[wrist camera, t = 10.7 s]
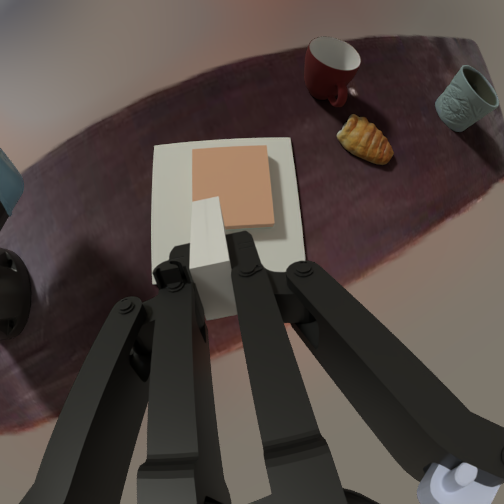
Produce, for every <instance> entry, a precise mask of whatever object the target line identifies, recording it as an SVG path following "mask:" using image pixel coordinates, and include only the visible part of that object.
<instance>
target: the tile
mask: <svg viewBox="0 0 504 504" xmlns="http://www.w3.org/2000/svg"><path fill="white" fill-rule="evenodd" d="M217 196H219V201H220V206H221V211H222V215H223V220H224V225H225V230H226V231H229V230H246V229H263V228H272V227H273V225H274V224H275V222H274V212H273V201H272V191H271V181H270V172H269V162H268V153H267V145H257V146H232V147H215V148H201V149H192V202H194V201H198V200H203V199H208V198H212V197H217Z"/></svg>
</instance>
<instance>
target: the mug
mask: <svg viewBox="0 0 504 504" xmlns="http://www.w3.org/2000/svg"><path fill="white" fill-rule="evenodd" d="M360 64H361V58H360V55H359V54H358V52H357V51H356V50H355V49H354V48H353V47H352V46H351V45H349V44H348V43H346V42H344V41H342V40H340V39H337V38H333V37H317V38H314V39H313V40H311V42H310V43H309V46H308V49H307V52H306V56H305V71H304V80H305V84H306V87H307V89H308V91H309V93H310V94H311V95H312V96H313V97H314V98H316V99H320V100H326V99H329V102H330V103H331V105H333V106H334V107H342V106H343V105H344V104H345V103H346V100H347V95H348V92H347V84H348V83H349V82H350V81H351V80H352V79H353V77H354V76H355V75H356V73H357V71H358V69H359V67H360ZM336 95H338V99H337V100H336V98H335V97H334V96H336Z"/></svg>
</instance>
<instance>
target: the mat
mask: <svg viewBox="0 0 504 504" xmlns="http://www.w3.org/2000/svg"><path fill="white" fill-rule="evenodd" d="M257 145H267V153H268V162H269V172H270V181H271V191H272V201H273V212H274V222H275V224H274V225H273V227H272V228H263V229H246V230H229V231H226V234H231V233H236V232H241V231H247V232H249V233H250V234H251V235H252V237H253V240H254V243H255V246H256V249H257V252H258V255H259V258H260V261H261V264H263V266H264V267H265V268H266V269H268V270H270V271H274V272H286V269H287V268H288V266H289V265H291V264H292V263H294V262H298V261H305V251H304V242H303V232H302V223H301V214H300V206H299V198H298V190H297V182H296V175H295V167H294V160H293V153H292V147H291V140H290V138H243V139H223V140H208V141H195V142H184V143H174V144H165V145H157V146H154V161H153V180H152V215H151V248H152V272H153V270H154V268H155V267H156V266H157V265H159V264H160V263H162V262H164V261H167V260H169V255H170V252H171V250H172V249H173V248H174V246H178V245H183V244H187V243H190V238H191V217H192V149H201V148H215V147H232V146H257ZM152 283H153V284H157V283H156V281H155V279H154V276H153V274H152Z"/></svg>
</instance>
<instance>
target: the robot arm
mask: <svg viewBox="0 0 504 504" xmlns="http://www.w3.org/2000/svg"><path fill="white" fill-rule="evenodd" d="M23 190H24V181H23V178H22V176H21V174H20V173H19V171H18V170H17V169H16V167H15V166H14V165H13V163H12V162H11V161H10V159H9V158H8V157H7V156H6V154H5V153H4V152H3V151H2V149H1V148H0V231H1V229H2V227H3V226H4V224H5V222H6V221H7V219H8V217H10V216H11V215H12V210H13V209H14V207H15V205H16V203H17V202H18V200H19V199H20V197H21V195H22V193H23ZM152 274H153V276H154V279H155V281H156V283H157V286H158V288H159V294H158V295H157V296H156V297H154V298H152V299H150V300H147V301H145V302H143V303H142V301H141V299H139V298H138V297H134V296H131V297H126V298H124V299H121V300H120V301H119V302H117V303H116V304H115V305H114V307H113V308H112V310H111V312H110V314H109V315H108V317H107V319H106V321H105V323H104V324H103V326H102V328H101V330H100V332H99V334H98V336H97V338H96V339H95V341H94V343H93V345H92V347H91V349H90V351H89V353H88V355H87V357H86V359H85V361H84V363H83V365H82V367H81V369H80V371H79V373H78V375H77V378H76V380H75V382H74V384H73V386H72V388H71V390H70V393H69V395H68V397H67V399H66V402H65V404H64V406H63V408H62V411H61V413H60V415H59V418H58V420H57V423H56V425H55V428H54V430H53V433H52V435H51V438H50V440H49V443H48V445H47V448H46V451H45V454H44V456H43V459H42V462H41V465H40V468H39V471H38V474H37V477H36V480H35V483H34V484H33V485H32V487H31V488H30V489H29V491H28V492H27V494H26V495H25V496H24V498H23V499H22V500H21V502H20V503H19V504H120V500H121V496H122V492H123V488H124V484H125V481H126V476H127V473H128V469H129V465H130V462H131V458H132V454H133V451H134V447H135V444H136V440H137V436H138V433H139V430H140V426H141V423H142V420H143V416H144V413H145V410H146V407H147V403H148V426H147V459H146V462H145V463H143V464H142V465H140V467H139V469H138V473H137V504H231V499H230V494H229V491H228V488H227V485H226V483H225V480H224V475H223V468H222V461H221V454H220V446H219V440H218V439H219V438H218V431H217V422H216V414H215V404H214V395H213V385H212V376H211V364H210V353H209V340H208V329H207V326H206V324H205V318H204V314H205V317H206V320H212V319H217V318H222V317H227V316H232V315H237V314H238V320H239V325H240V331H241V336H242V342H243V347H244V352H245V358H246V363H247V369H248V374H249V379H250V384H251V390H252V395H253V400H254V404H255V410H256V415H257V419H258V425H259V430H260V434H261V439H262V444H263V450H264V459H265V465H266V469H267V474H268V478H269V483H270V487H271V492H272V494H271V495H269V496H267V497H264V498H262V499H259V500H257V501H254V502H252V503H249V504H379V503H377V502H375V501H374V500H371V499H370V498H368V497H366V496H364V495H362V494H360V493H357V492H355V491H352V490H348V489H344V488H342V486H341V482H340V479H339V476H338V473H337V470H336V467H335V464H334V461H333V458H332V455H331V452H330V449H329V447H328V444H327V442H326V440H325V439H324V438H323V437H322V436H321V434H320V431H319V428H318V425H317V422H316V419H315V416H314V413H313V410H312V407H311V404H310V401H309V398H308V395H307V392H306V389H305V386H304V383H303V380H302V377H301V374H300V371H299V368H298V365H297V362H296V359H295V356H294V353H293V350H292V347H291V344H290V341H289V338H288V335H287V332H286V329H285V326H284V323H290V324H291V326H292V328H293V329H294V330H295V331H296V333H297V334H298V335H299V337H300V338H301V339H302V341H303V342H304V343H305V345H306V346H307V347H308V348H309V350H310V351H311V352H312V354H313V355H314V356H315V358H316V359H317V360H318V362H319V363H320V364H321V366H322V367H323V368H324V369H325V371H326V372H327V373H328V375H329V376H330V377H331V378H332V380H333V381H334V382H335V384H336V385H337V386H338V387H339V389H340V390H341V392H342V393H343V394H344V395H345V397H346V398H347V399H348V401H349V402H350V403H351V404H352V406H353V407H354V408H355V410H356V411H357V412H358V413H359V415H360V416H361V417H362V419H363V420H364V421H365V422H366V424H367V425H368V426H369V427H370V429H371V430H372V431H373V432H374V434H375V435H376V436H377V438H378V439H379V440H380V441H381V443H382V444H383V445H384V446H385V448H386V449H387V450H388V452H389V453H390V454H391V455H392V457H393V458H394V459H395V460H396V461H397V462H398V464H399V465H400V466H401V467H402V468H403V469H404V470H405V471H406V472H407V473H408V474H410V475H411V476H412V477H413V478H415V479H416V480H418V481H419V482H420V484H419V486H418V489H417V498H418V500H419V503H420V504H491V502H492V501H493V499H494V497H495V494H496V492H497V491H498V489H499V487H500V485H501V484H503V483H504V427H501V426H499V425H497V424H495V423H493V422H490V421H489V420H486V419H484V418H482V417H480V416H478V415H476V414H474V413H472V412H470V411H469V410H468V409H467V408H466V407H465V406H464V405H463V403H462V402H461V401H460V400H459V399H458V398H457V397H456V396H455V395H454V394H453V393H452V392H451V391H450V390H449V389H448V388H447V387H446V386H445V385H444V384H443V383H442V382H441V381H440V380H439V379H438V378H437V377H436V376H435V375H434V374H433V373H432V372H431V371H430V370H429V369H428V368H427V367H426V366H425V365H424V364H423V363H422V362H421V361H420V360H419V359H418V358H417V357H416V356H415V355H414V354H413V353H412V352H411V351H410V350H409V349H408V348H407V347H406V346H405V345H404V344H403V343H402V342H401V341H400V340H399V339H398V338H397V337H396V336H395V335H394V334H392V333H391V332H390V331H389V330H388V329H387V328H386V327H385V326H384V325H383V324H382V323H381V322H380V321H379V320H378V319H377V318H376V317H375V316H374V315H373V314H371V313H370V312H369V311H368V310H367V309H366V308H365V307H364V306H363V305H362V304H361V303H360V302H359V301H358V300H356V299H355V298H354V297H353V296H352V295H351V294H350V293H349V292H348V291H347V290H346V289H345V288H344V287H342V286H341V285H340V284H339V283H338V282H337V281H336V280H335V279H334V278H333V277H331V276H330V275H329V274H328V273H327V272H326V271H325V270H324V269H323V268H322V267H320V266H319V265H318V264H316V263H315V262H312V261H298V262H294V263H292V264H291V265H289V266H288V268H287V269H286V272H274V271H270V270H268V269H266V268H265V267H264V266H263V264H261V261H260V258H259V255H258V252H257V249H256V246H255V243H254V240H253V237H252V235H251V234H250V233H249V232H247V231H241V232H236V233H231V234H226V230H225V225H224V220H223V215H222V211H221V206H220V201H219V196H217V197H212V198H208V199H203V200H198V201H194V202H192V217H191V238H190V243H187V244H183V245H178V246H174V248H173V249H172V250H171V252H170V255H169V260H167V261H164V262H162V263H160V264H159V265H157V266H156V267H155V268H154V270H153V272H152ZM30 305H31V289H30V281H29V277H28V273H27V270H26V268H25V266H24V264H23V262H22V260H21V259H20V258H19V256H18V255H17V254H15V253H14V252H13V251H10V250H7V249H4V248H0V340H4V339H11V338H14V337H16V336H17V335H18V334H19V333H20V332H21V331H22V330H23V328H24V326H25V324H26V322H27V319H28V316H29V311H30Z"/></svg>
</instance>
